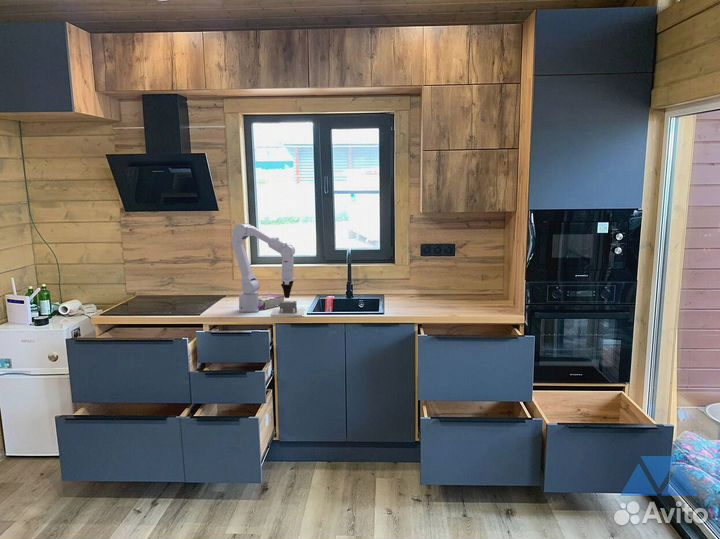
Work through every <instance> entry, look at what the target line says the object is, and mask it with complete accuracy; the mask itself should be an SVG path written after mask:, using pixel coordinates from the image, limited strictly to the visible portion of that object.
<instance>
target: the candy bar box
mask: <svg viewBox="0 0 720 539" xmlns="http://www.w3.org/2000/svg"><path fill="white" fill-rule="evenodd" d="M280 301H285V297H284V295H278V294H272V293H267V294H262V295H258V308H259V310H267V308H268V309H271V307H272V308H275V307H274V306H276V307H278V306H277V305H280Z"/></svg>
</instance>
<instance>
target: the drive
mask: <svg viewBox="0 0 720 539" xmlns="http://www.w3.org/2000/svg"><path fill="white" fill-rule="evenodd" d="M281 308H283V313H293V308H295V313H296V311H297V309H298V307H297V300H284V301H280V306H279V309H280V313H281Z"/></svg>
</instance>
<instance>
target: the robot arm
mask: <svg viewBox="0 0 720 539" xmlns="http://www.w3.org/2000/svg"><path fill="white" fill-rule="evenodd" d="M248 237H256V238H257V239H258V240H260V241H262V242H265V243H267V246H268V248H271V250H273V251H275V252H277V253H278V254H280V255H281V258H282V259H281V282H282V283H281V284H280V286H281V288H282V291H283V296H284V299H289V298H290V296H291V292H292V291H291V290H292V288H293V286H294V285H293V284H294V281H296V279H297V278H295V277H294V255H295V254H296V249H295V247H294V246H293V245H292V244H288V243H287V242H285V241H283V240H281V239H280V237H278V236H276V237H275V236H273V237H271V236H269V235H268V234H266V233H265V232H263V231H262V230H260V229H259V228H257V227H255V226H254V225H252V224H250V223H238V224H236V225H235V226H234V227H233V229H232V237H231V245H232V248H233V251H234V254H235V259H236V261H237V264H238V267H239V270H240V274H241V279H240V281H241V282H240V283H241V291H242V292H241V293H239V295H238V312H239V313H258V312H259V310H260V309H259V308H258V296H259V289H260V287H261V284H260V281H259V280H258V279H257V276H256V275H255V274H254V273H253V271H252V267H251V264H250V261H249V258H248V255H247V251H246V247H245V246H244V245H245V244H244V243H245V241H246V240H247V239H248Z"/></svg>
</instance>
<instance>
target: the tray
mask: <svg viewBox="0 0 720 539" xmlns="http://www.w3.org/2000/svg"><path fill="white" fill-rule="evenodd" d="M302 315H304V316H305V308H297V311H296V313H295V308H293V313H283V308H281V313H280V308H272V311H271V313H270V317H293V316H302Z"/></svg>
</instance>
